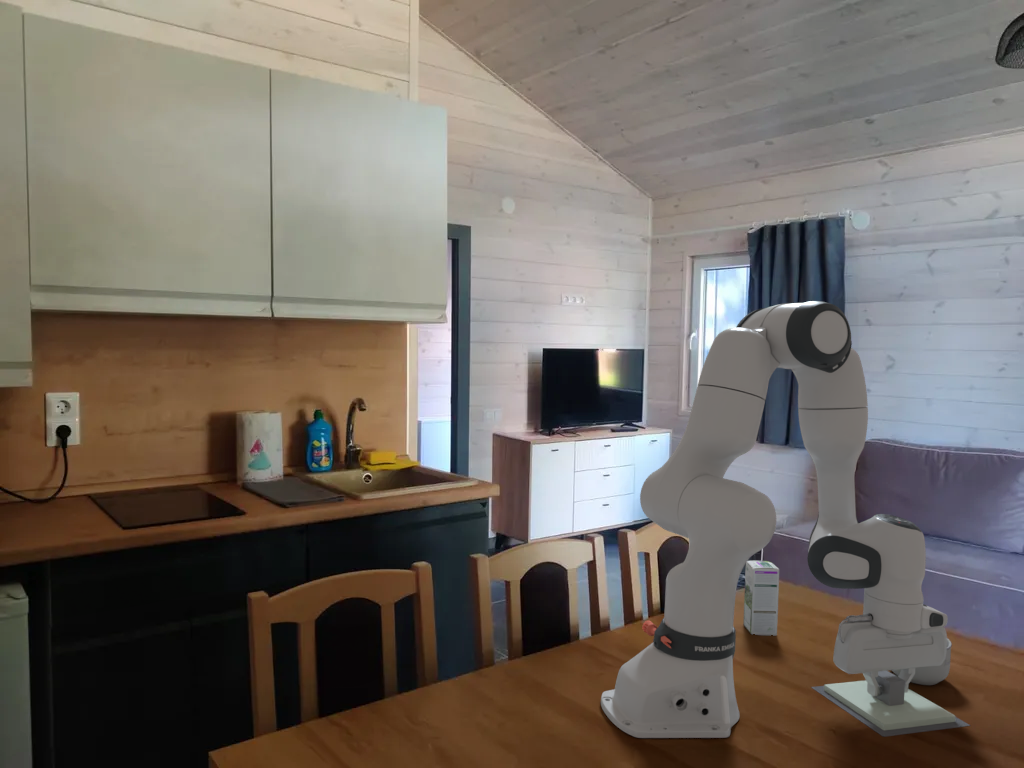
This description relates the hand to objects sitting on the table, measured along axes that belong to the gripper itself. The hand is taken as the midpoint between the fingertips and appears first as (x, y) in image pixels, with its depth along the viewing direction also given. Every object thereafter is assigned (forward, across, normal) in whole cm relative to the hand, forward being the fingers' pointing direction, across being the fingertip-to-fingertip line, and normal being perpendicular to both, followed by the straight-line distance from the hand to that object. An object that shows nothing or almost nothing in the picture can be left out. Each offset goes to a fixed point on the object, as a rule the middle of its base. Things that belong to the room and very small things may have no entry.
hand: (887, 693), depth 123 cm
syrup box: (+3, -1, +35) cm, 35 cm away
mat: (+2, 0, 0) cm, 2 cm away
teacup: (+3, +15, +10) cm, 18 cm away
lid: (+2, 0, 0) cm, 2 cm away
